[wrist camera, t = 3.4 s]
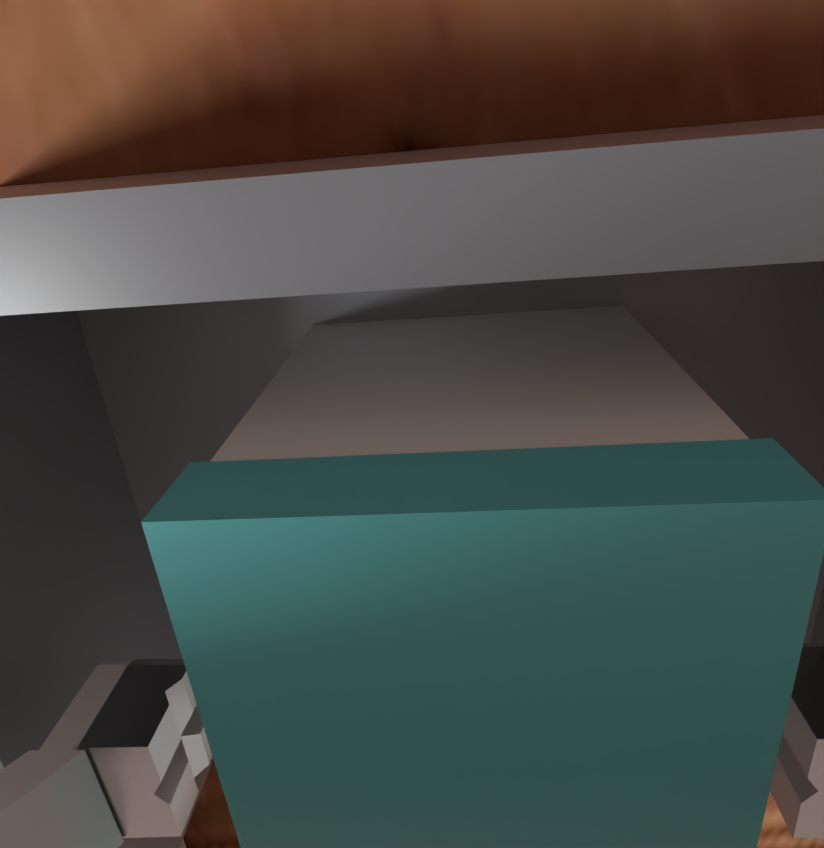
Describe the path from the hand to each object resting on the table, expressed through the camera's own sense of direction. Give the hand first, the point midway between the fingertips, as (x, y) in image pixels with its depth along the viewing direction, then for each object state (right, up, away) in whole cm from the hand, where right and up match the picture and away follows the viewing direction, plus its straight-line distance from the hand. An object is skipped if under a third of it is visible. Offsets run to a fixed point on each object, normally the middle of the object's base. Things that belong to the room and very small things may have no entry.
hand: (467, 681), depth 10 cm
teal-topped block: (0, +2, +2) cm, 3 cm away
